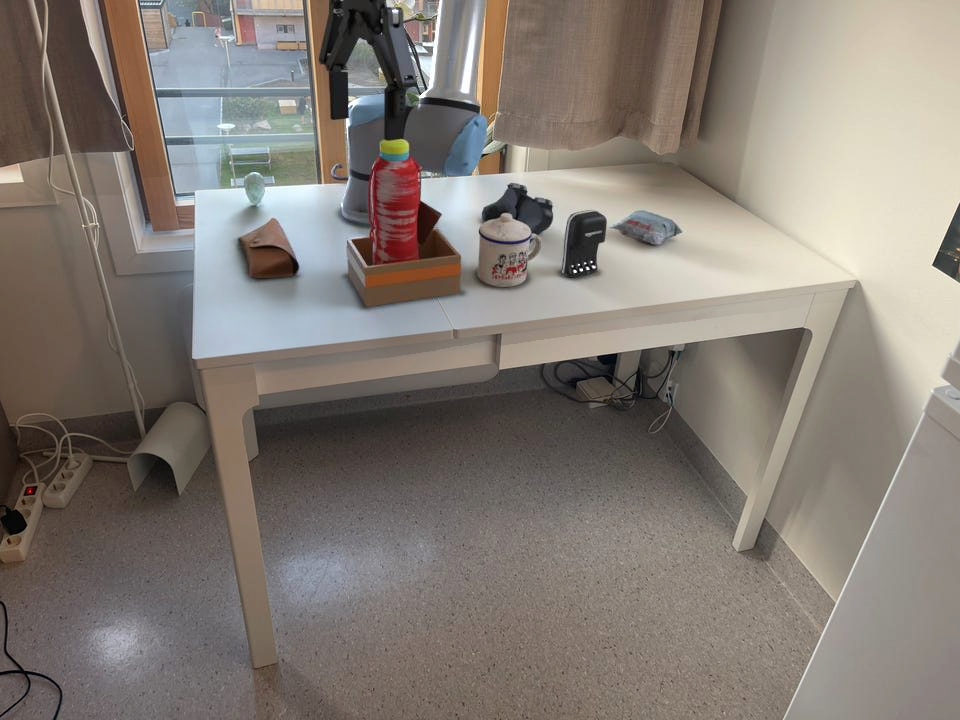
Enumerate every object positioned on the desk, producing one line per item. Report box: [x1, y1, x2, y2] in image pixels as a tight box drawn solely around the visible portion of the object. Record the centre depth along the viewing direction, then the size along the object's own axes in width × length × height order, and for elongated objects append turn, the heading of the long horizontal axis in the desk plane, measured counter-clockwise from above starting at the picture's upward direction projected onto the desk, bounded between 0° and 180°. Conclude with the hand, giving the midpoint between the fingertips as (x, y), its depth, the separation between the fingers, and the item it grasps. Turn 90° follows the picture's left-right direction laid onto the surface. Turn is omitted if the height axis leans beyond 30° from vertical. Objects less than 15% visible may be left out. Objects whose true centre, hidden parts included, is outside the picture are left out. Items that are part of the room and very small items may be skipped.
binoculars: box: [481, 182, 554, 244], centre depth 149 cm, size 16×7×10 cm, turn 32°
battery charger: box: [560, 209, 608, 278], centre depth 132 cm, size 7×4×11 cm, turn 120°
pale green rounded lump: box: [243, 171, 266, 206], centre depth 153 cm, size 8×4×7 cm, turn 24°
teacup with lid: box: [477, 213, 543, 288], centre depth 130 cm, size 12×9×12 cm
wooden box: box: [345, 228, 462, 308], centre depth 126 cm, size 12×16×7 cm
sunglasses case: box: [237, 217, 300, 279], centre depth 134 cm, size 18×7×7 cm
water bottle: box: [368, 139, 443, 265], centre depth 121 cm, size 12×8×25 cm, turn 121°
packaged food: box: [609, 209, 683, 246], centre depth 149 cm, size 9×12×5 cm
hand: (365, 128), depth 107 cm, fingers open, 13 cm apart
